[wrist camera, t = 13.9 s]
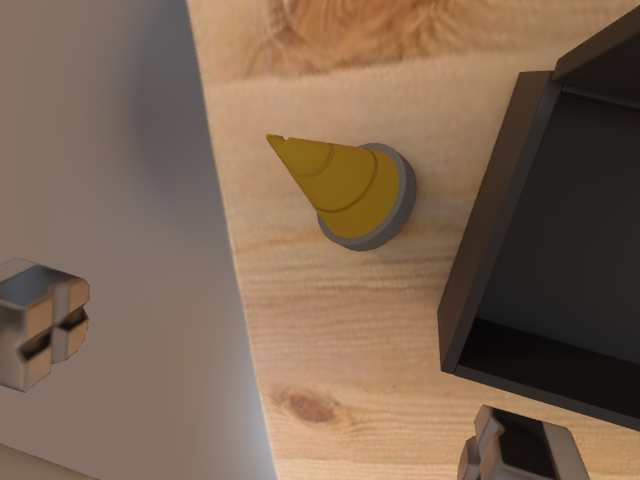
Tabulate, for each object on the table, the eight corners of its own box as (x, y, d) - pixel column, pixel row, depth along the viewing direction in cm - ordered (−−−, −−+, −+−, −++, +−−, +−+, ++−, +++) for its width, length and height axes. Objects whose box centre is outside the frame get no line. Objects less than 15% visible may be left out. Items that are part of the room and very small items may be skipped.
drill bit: (346, 253, 28) (207, 188, 21) (379, 168, 29) (253, 76, 22) (422, 278, 25) (283, 208, 18) (459, 180, 25) (337, 73, 18)
